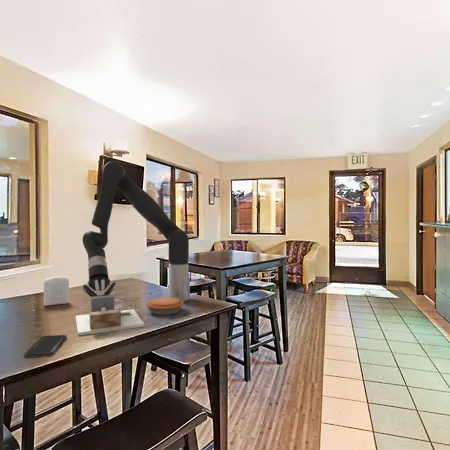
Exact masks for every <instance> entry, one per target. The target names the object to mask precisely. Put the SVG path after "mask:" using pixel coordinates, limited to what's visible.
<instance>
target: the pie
mask: <svg viewBox="0 0 450 450" xmlns="http://www.w3.org/2000/svg"><path fill="white" fill-rule="evenodd" d="M184 304H185V301H181V300H179V299H177V298H172V297H169V296H167V297H156V298H152V299H150V300H149V301H147V302H146V303H145V306H146V308H148V309H149V312H150V313H151V314H153V315H154V316H155V315H156V316H170V315H174V314H178V312H179V311H180V310H181V308H182V306H183V305H184Z"/></svg>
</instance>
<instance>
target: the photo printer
mask: <svg viewBox="0 0 450 450" xmlns="http://www.w3.org/2000/svg"><path fill="white" fill-rule="evenodd" d="M69 297H70V280H69V278H68V277H66V276H51V277H48V278H45V279H44V282H43V306H46V307H47V306H55V305H63V304H69V302H70V301H69V300H70V298H69Z"/></svg>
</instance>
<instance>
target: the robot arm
mask: <svg viewBox="0 0 450 450" xmlns="http://www.w3.org/2000/svg"><path fill="white" fill-rule="evenodd" d="M101 177H102V178H101V186H100V191H99V196H98V199H97V202H96V206H95V208H94V209H95V210H94V212H93V216H92V219H91V224H92V225H93V226H94V227H96V228H97V229H99V231H100V232H97V231H93V230H87V231H85V232H84V234H83V236H82V244H83V247H84V250H85V251H86V253H87V258H88V265H87V268H88V269H87V272H88V281H87V283H86V284H83V286H82V291H83V292H84V293H86V294H87V295H88V296H90V298H91V297H96V296H107V295H111V293H112V292H113V291H114V289H115V288H116V285H117V284H116V282H113V281H111V279H110V278H109V272H108V270H109V269H108V263H107V258H106V251H105V248H106V246H107V245H108V242H109V241H108V240H109V237H108V236H109V234H108V233H109V222H110V218H111V216H112V211H113V205H114V199H115V194H116V191H117V190H119V191H120V192H121V193H122V194H123V195H124V196H125V198H126V199H127V201H128V202H129V203H130V205H131V206H132V207H133V208H134V209H135V210H136V211H137V213H139V214H140V216H141V217H142V218H143V219H145V221H147V222H148V223H149V224H151V225H152V226H153V227H154V228H156V229H157V230H158V231H159V232H160V233H161V235H163V236H164V238H165V239H166V240H167V241H168V297H172V298H177V299H179V300H181V301H183V302H187V301H190V297H191V296H190V295H191V294H190V292H191V289H190V287H191V286H190V285H191V284H190V283H191V280H190V279H189V255H190V253H189V250H190V249H189V248H190V247H189V246H190V244H189V243H190V241H189V240H190V239H189V235H188V234H187V233H186V231H184V230H182V229H181V228H180V227H179V226H178V225H177V224H175V223H174V222H173V221H172V220H171V219H170V218H169V216H168V215H167V214H166V213H165V211H164V210H163V208H162V207H161V206H160V205H159V203H158V202H157V201H156V200H155V199H154V198H153V197H152V196H151V195H150V194H149V193H148V192H147V191H145V190H144V189H143V188H141V187H140V186H139V185H138V184H136V182H134V180H132V178H131V177H130V176H129V175H128V173H127V172H126V171H125V169H124V167H123V165H122V164H121V163H119V162H117V161H115V160H114V161H113V160H112V161H108V162H107V163H106V164H105V165H104V166H103V168H102V176H101ZM105 290H106V291H105Z"/></svg>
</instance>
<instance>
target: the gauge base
mask: <svg viewBox="0 0 450 450" xmlns="http://www.w3.org/2000/svg"><path fill="white" fill-rule="evenodd" d="M120 311H121V313H129V312H130V314H129V315H121V326H117V327H110V328H102V329H95V330H90V313H89V314H88V313H87V314H80V315H75V322H76V323H75V324H76V331H77V336H85V335H92V334H99V333H107V332H113V331H114V332H115V331H121V330H129V329H136V328H142V327H145V322H144V321H143V320H142V318H141V317H140V316H139V314H138V313H137V312H136V311H135V309H134V308H131V309H123V310H120Z"/></svg>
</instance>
